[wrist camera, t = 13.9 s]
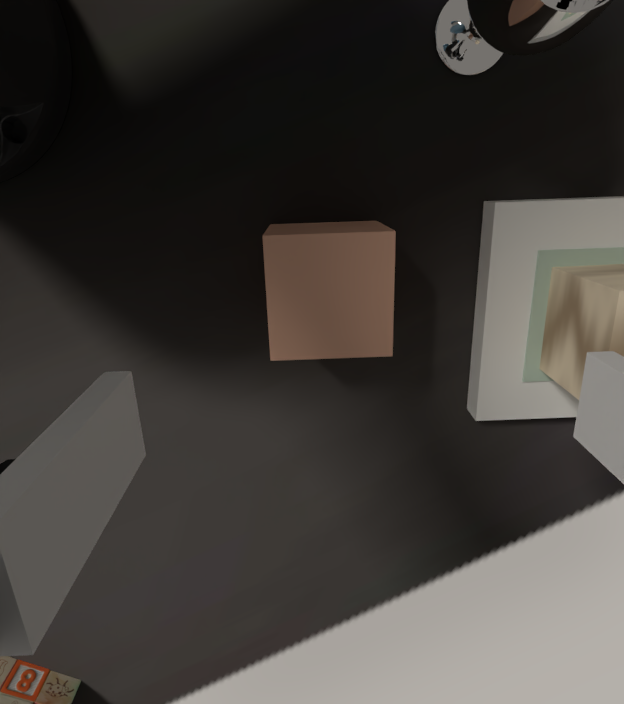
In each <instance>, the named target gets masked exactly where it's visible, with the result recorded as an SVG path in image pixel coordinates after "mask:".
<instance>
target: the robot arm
mask: <svg viewBox="0 0 624 704" xmlns="http://www.w3.org/2000/svg"><path fill="white" fill-rule="evenodd" d="M71 87H72V60H71V51H70V44H69V39H68V34H67V30H66V27H65V23H64V20H63V17H62V14H61V11H60V8H59V6H58V3H57V1H56V0H0V182H3V181H5V180H8V179H10V178H13V177H15V176H17V175H19V174H20V173H22V172H24V171H25V170H27V169H28V168H30V167H31V166H32V165H33V164H35V163H36V162H37V161H38V160H39V159H40V158H41V157H42V156H43V155H44V154H45V152H46V151H47V150H48V149H49V147H50V146H51V145H52V143H53V142H54V140H55V138H56V137H57V135H58V133H59V131H60V129H61V127H62V124H63V122H64V119H65V116H66V113H67V109H68V105H69V101H70V95H71ZM573 437H574V438H575V439H576V440H577V441H579V442H580V443H581V444H582V445H583V446H584V447H585V448H586V449H587V450H588V451H589V452H590V453H591V454H592V455H593V456H594V457H595V458H597V459H598V460H599V461H600V462H601V463H602V464H603V465H604V466H605V467H606V468H607V469H608V470H609V471H610V472H611V473H612V474H613V475H615V476H616V477H617V478H618V479H619V480H620V481H621V482H622V483H623V484H624V357H623V356H621V355H620V354H618V353H616V352H614V351H603V352H587V355H586V361H585V368H584V374H583V380H582V386H581V392H580V398H579V405H578V411H577V417H576V423H575V429H574V435H573ZM145 455H146V453H145V447H144V442H143V436H142V430H141V424H140V419H139V413H138V407H137V401H136V395H135V390H134V384H133V378H132V372H131V371H121V372H104V373H103V374H102V375H101V376H100V377H99V378H98V379H97V380H96V381H95V382H94V383H93V384H92V385H91V386H90V387H89V388H88V389H87V390H86V391H85V392H84V393H83V394H82V395H81V396H80V397H79V398H78V399H77V400H76V401H75V402H74V403H73V404H72V405H71V406H70V407H69V408H67V409H66V410H65V411H64V412H63V413H62V414H61V415H60V416H59V417H58V418H57V419H56V420H55V421H54V422H53V423H52V424H51V425H50V426H49V427H48V428H47V429H46V430H45V431H44V432H43V433H42V434H41V435H40V436H39V437H38V438H37V439H36V440H35V441H34V442H33V443H32V444H31V445H30V446H29V447H28V448H27V449H26V450H25V451H24V452H23V453H22V454H21V455H20V456H19V457H18V458H17V459H12V460H6V461H5V462H3V463H1V464H0V656H21V655H33V654H34V652H35V651H36V649H37V647H38V645H39V644H40V642H41V640H42V638H43V636H44V635H45V633H46V631H47V629H48V628H49V626H50V624H51V622H52V620H53V619H54V617H55V615H56V613H57V612H58V610H59V608H60V606H61V605H62V603H63V601H64V599H65V597H66V596H67V594H68V592H69V590H70V589H71V587H72V585H73V583H74V581H75V580H76V578H77V576H78V574H79V573H80V571H81V569H82V567H83V565H84V564H85V562H86V560H87V558H88V557H89V555H90V553H91V551H92V549H93V548H94V546H95V544H96V542H97V541H98V539H99V537H100V535H101V533H102V532H103V530H104V528H105V526H106V525H107V523H108V521H109V519H110V518H111V516H112V514H113V512H114V510H115V509H116V507H117V505H118V503H119V502H120V500H121V498H122V496H123V494H124V493H125V491H126V489H127V487H128V486H129V484H130V482H131V480H132V478H133V477H134V475H135V473H136V471H137V470H138V468H139V466H140V464H141V462H142V461H143V459H144V457H145Z"/></svg>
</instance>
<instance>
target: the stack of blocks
mask: <svg viewBox="0 0 624 704" xmlns="http://www.w3.org/2000/svg"><path fill="white" fill-rule="evenodd" d="M80 683H81V680H79V679H75V678H72V677H69V676H66V675H63V674H60V673H57V672H54V671H51V670H49V669H46V668H43V667H40V666H37V665H34V664H30V663H27V662H24V661H21V660H17V659H15V658H12V657H9V656H0V704H72V701H73V699H74V697H75V695H76V692H77V690H78V688H79V685H80Z"/></svg>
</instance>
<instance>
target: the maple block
mask: <svg viewBox="0 0 624 704" xmlns="http://www.w3.org/2000/svg"><path fill="white" fill-rule="evenodd" d="M603 351H614V352H616V353H618V354H620V355H621V356H623V357H624V264H608V265H586V266H564V267H552V271H551V279H550V287H549V295H548V304H547V312H546V320H545V328H544V336H543V344H542V352H541V360H540V368H539V369H540V370H541V371H543V372H544V373H545V374H546V375H548V376H549V377H550V378H551V379H553V380H554V381H555V382H556V383H558V384H559V385H560V386H561V387H563V388H564V389H565V390H567V391H568V392H569V393H570V394H572V395H573V396H574V397H575V398H577V399H578V400H579V398H580V392H581V386H582V380H583V374H584V368H585V361H586V355H587V352H603Z"/></svg>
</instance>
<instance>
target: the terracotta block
mask: <svg viewBox="0 0 624 704" xmlns="http://www.w3.org/2000/svg"><path fill="white" fill-rule="evenodd" d="M262 237H263V253H264V268H265V284H266V299H267V315H268V330H269V346H270V361H279V360H306V359H333V358H360V357H387V356H393V321H394V281H395V242H396V231H395V230H393V229H391V228H389V227H387V226H385V225H384V224H382V223H380V222H378V221H351V222H322V223H293V224H270V225H269V227H268V228H267V230H266V231H265V233H264V234H263V236H262Z"/></svg>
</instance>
